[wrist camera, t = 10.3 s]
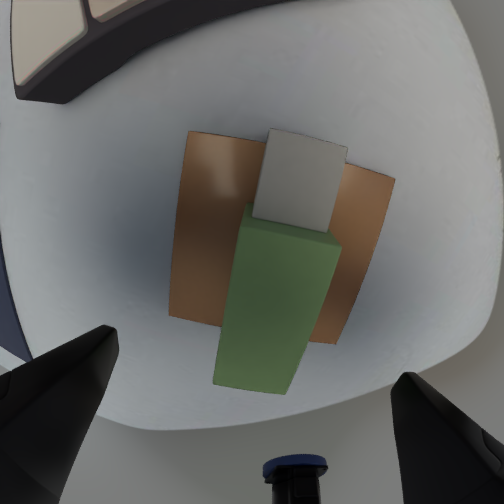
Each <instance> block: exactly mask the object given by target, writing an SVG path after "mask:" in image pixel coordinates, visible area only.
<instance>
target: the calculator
mask: <svg viewBox="0 0 504 504" xmlns="http://www.w3.org/2000/svg"><path fill="white" fill-rule="evenodd" d="M282 1H288V0H11V16H10V44H11V61H12V72H13V81H14V89H15V94H16V97H17V99H19V100H29V101H39V102H47V103H55V104H65V103H67V102H68V101H70V100H71V99H73V98H74V97H75V96H77V95H78V94H79V93H81V92H82V91H84V90H85V89H87V88H88V87H90V86H91V85H93V84H94V83H96V82H97V81H99V80H100V79H102V78H103V77H105V76H106V75H108V74H110V73H111V72H113V71H115V70H116V69H118V68H120V67H121V66H122V64H123V63H124V62H125V61H126V60H127V59H128V58H129V57H130V56H131V55H132V54H134V53H136V52H138V51H139V50H141V49H143V48H145V47H147V46H149V45H151V44H153V43H155V42H158V41H160V40H162V39H164V38H166V37H168V36H171V35H173V34H175V33H178V32H180V31H183V30H185V29H188V28H190V27H193V26H195V25H198V24H201V23H204V22H206V21H209V20H212V19H215V18H218V17H221V16H225V15H228V14H231V13H235V12H238V11H242V10H246V9H250V8H254V7H258V6H262V5H267V4H272V3H277V2H282Z"/></svg>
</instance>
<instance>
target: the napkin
mask: <svg viewBox="0 0 504 504" xmlns="http://www.w3.org/2000/svg"><path fill="white" fill-rule="evenodd" d="M0 346H1V347H3V348H4V349H6V350H7V351H9V352H10V353H12V354H14V355H15V356H17V357H19V358H20V359H22V360H24V361H25V362H29V361H31V360H33V359H32V356H31V354H30V351H29V348H28V346H27V343H26V340H25V338H24V335H23V332H22V329H21V326H20V323H19V320H18V316H17V313H16V310H15V306H14V302H13V299H12V295H11V291H10V287H9V282H8V278H7V273H6V268H5V263H4V257H3V251H2V244H1V237H0Z"/></svg>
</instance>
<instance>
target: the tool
mask: <svg viewBox="0 0 504 504" xmlns="http://www.w3.org/2000/svg"><path fill="white" fill-rule="evenodd" d="M347 152H348V148H347V147H345V146H341V145H338V144H334V143H331V142H327V141H323V140H320V139H316V138H312V137H308V136H304V135H300V134H296V133H291V132H287V131H283V130H278V129H273V128H270V130H269V132H268V136H267V141H266V146H265V151H264V156H263V161H262V165H261V170H260V175H259V180H258V185H257V190H256V195H255V200H254V203H247V204H246V206H245V210H244V213H243V217H242V221H241V224H240V228H239V233H238V238H237V244H236V249H235V255H234V260H233V266H232V271H231V277H230V282H229V288H228V293H227V299H226V305H225V310H224V316H223V322H222V328H221V334H220V340H219V346H218V351H217V357H216V364H215V370H214V376H213V384H214V385H219V386H225V387H231V388H237V389H243V390H250V391H257V392H264V393H272V394H281V395H285V394H286V392H287V390H288V388H289V386H290V383H291V381H292V379H293V377H294V374H295V372H296V370H297V368H298V365H299V363H300V361H301V358H302V356H303V353H304V351H305V349H306V346H307V344H308V341H309V339H310V336H311V334H312V331H313V329H314V326H315V324H316V321H317V318H318V316H319V313H320V311H321V308H322V305H323V302H324V300H325V297H326V294H327V291H328V289H329V286H330V283H331V280H332V277H333V274H334V271H335V268H336V265H337V262H338V259H339V256H340V253H341V250H342V246H341V245H340V244H339V242H338V241H337V239H336V238H335V237H334V235H333V234H332V233H331V231H330V230H329V228H328V227H329V223H330V220H331V216H332V212H333V209H334V205H335V201H336V197H337V193H338V189H339V185H340V181H341V177H342V173H343V169H344V165H345V161H346V156H347Z"/></svg>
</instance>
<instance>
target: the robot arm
mask: <svg viewBox="0 0 504 504" xmlns="http://www.w3.org/2000/svg"><path fill="white" fill-rule="evenodd" d="M118 354H119V343H118V335H117V330H116V329H115V328H114V327H111V326H107V325H101V326H99V327H97V328H95V329H93V330H91V331H89V332H87V333H85V334H83V335H81V336H79V337H77V338H75V339H73V340H71V341H69V342H67V343H65V344H63V345H61V346H59V347H57V348H55V349H53V350H51V351H49V352H47V353H45V354H43V355H41V356H39V357H37V358H35V359H33V360H31V361H29V362H27V363H25V364H23V365H21V366H19V367H17V368H15V369H13V370H12V371H9V372H7V373H5V374H3V375H1V376H0V504H59V501H60V497H61V495H62V492H63V489H64V487H65V484H66V481H67V478H68V476H69V473H70V471H71V468H72V466H73V464H74V461H75V459H76V456H77V454H78V451H79V449H80V447H81V444H82V442H83V440H84V437H85V435H86V433H87V431H88V429H89V426H90V424H91V422H92V420H93V418H94V415H95V413H96V411H97V409H98V407H99V405H100V403H101V401H102V398H103V396H104V394H105V391H106V388H107V385H108V382H109V379H110V377H111V374H112V371H113V368H114V365H115V363H116V360H117V357H118ZM390 395H391V404H392V414H393V426H394V435H395V440H396V447H397V453H398V459H399V466H400V474H401V482H402V490H403V501H404V504H504V445H503V444H502V443H500V442H499V441H497V440H496V439H495V438H494V437H493V436H491V435H490V434H489V433H488V432H486V431H485V430H484V429H483V428H481V427H480V426H479V425H478V424H477V423H476V422H474V421H473V420H472V419H471V418H470V417H468V416H467V415H466V414H465V413H464V412H462V411H461V410H460V409H459V408H457V407H456V406H455V405H454V404H452V403H451V402H450V401H449V400H448V399H447V398H445V397H444V396H443V395H442V394H440V393H439V392H438V391H437V390H436V389H434V388H433V387H432V386H431V385H429V384H428V383H427V382H426V381H425V380H423V379H422V378H421V377H420V376H418V375H417V374H416V373H415V372H404V373H403V374H402V375H401V376H400V377H399V379H398V380H397V382H396V383H395V384H394V386H393V387H392V389H391V394H390ZM327 470H328V465H277V466H275V467H274V469H273V470H272V471H271V473H270V474H269V475H268V476H267V478H266V479H265V481H264V483H266V484H272V504H321V496H320V486H319V477H320V476H321V475H322V474H323V473H324V472H325V471H327Z"/></svg>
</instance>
